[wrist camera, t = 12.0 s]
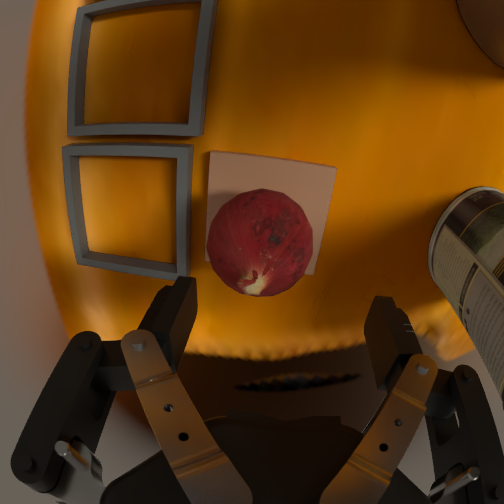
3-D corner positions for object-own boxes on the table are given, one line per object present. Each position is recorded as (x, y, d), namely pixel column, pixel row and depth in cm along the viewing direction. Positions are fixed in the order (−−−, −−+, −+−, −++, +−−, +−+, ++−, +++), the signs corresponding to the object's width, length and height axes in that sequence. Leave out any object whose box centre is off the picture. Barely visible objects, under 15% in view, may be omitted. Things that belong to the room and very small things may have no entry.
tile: (335, 166, 18) (337, 168, 18) (312, 270, 22) (313, 275, 22) (212, 150, 18) (210, 151, 18) (206, 257, 22) (204, 261, 22)
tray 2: (193, 144, 18) (188, 147, 17) (190, 273, 23) (186, 282, 22) (71, 143, 18) (62, 146, 17) (84, 257, 23) (77, 263, 22)
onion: (252, 157, 18) (236, 196, 11) (324, 209, 19) (350, 275, 12) (204, 226, 20) (168, 295, 13) (272, 269, 22) (268, 352, 15)
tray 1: (219, -8, 13) (215, -14, 12) (203, 134, 18) (198, 136, 17) (86, 10, 13) (77, 7, 12) (76, 133, 18) (67, 136, 17)
